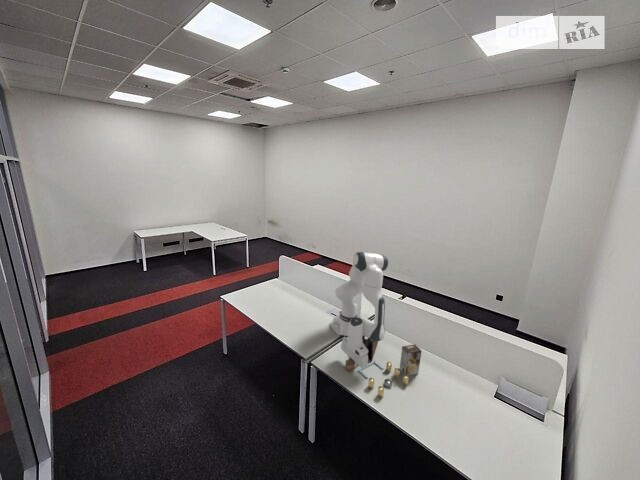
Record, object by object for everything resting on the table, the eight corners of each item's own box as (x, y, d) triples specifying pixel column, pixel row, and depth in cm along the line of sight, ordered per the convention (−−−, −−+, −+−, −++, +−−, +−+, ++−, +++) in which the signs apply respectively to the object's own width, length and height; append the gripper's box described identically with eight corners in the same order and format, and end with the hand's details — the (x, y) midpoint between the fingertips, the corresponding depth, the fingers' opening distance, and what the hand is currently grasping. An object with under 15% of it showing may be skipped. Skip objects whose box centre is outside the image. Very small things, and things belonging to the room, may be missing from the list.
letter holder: (377, 343, 183) (379, 325, 180) (372, 361, 166) (374, 342, 162) (363, 339, 187) (365, 322, 183) (356, 357, 169) (358, 338, 165)
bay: (358, 370, 157) (358, 369, 157) (374, 361, 165) (374, 360, 165) (366, 378, 152) (367, 377, 151) (383, 369, 159) (383, 368, 159)
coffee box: (412, 366, 163) (415, 343, 158) (418, 373, 157) (422, 350, 153) (399, 368, 160) (402, 346, 156) (404, 376, 154) (408, 353, 150)
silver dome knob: (382, 385, 148) (382, 382, 147) (386, 380, 151) (386, 377, 151) (389, 389, 145) (390, 386, 145) (393, 384, 148) (393, 381, 148)
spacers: (363, 383, 149) (363, 375, 147) (388, 368, 160) (388, 361, 159) (383, 402, 137) (384, 394, 136) (408, 384, 149) (409, 377, 147)
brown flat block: (345, 369, 158) (345, 360, 157) (357, 362, 164) (358, 354, 163) (347, 371, 157) (348, 363, 155) (360, 365, 162) (360, 356, 161)
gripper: (339, 337, 162) (338, 356, 166) (362, 356, 146) (360, 376, 150) (347, 333, 166) (345, 352, 170) (370, 352, 150) (368, 372, 154)
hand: (352, 364), depth 160 cm, fingers closed on brown flat block, 2 cm apart
